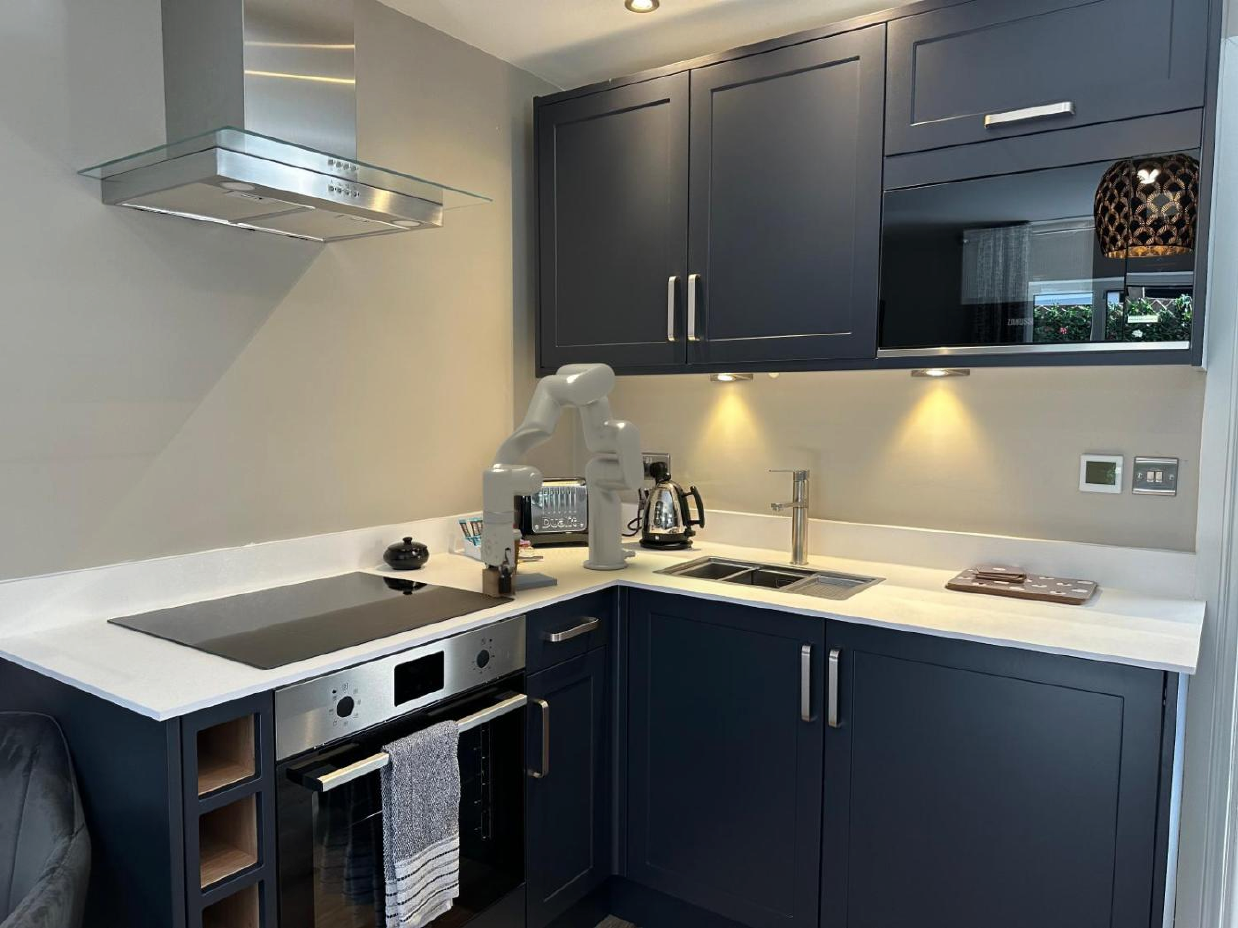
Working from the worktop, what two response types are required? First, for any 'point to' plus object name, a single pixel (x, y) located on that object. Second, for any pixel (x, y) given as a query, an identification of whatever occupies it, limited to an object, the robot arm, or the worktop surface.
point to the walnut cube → (495, 582)
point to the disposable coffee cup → (516, 547)
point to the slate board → (533, 581)
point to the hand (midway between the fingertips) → (498, 590)
